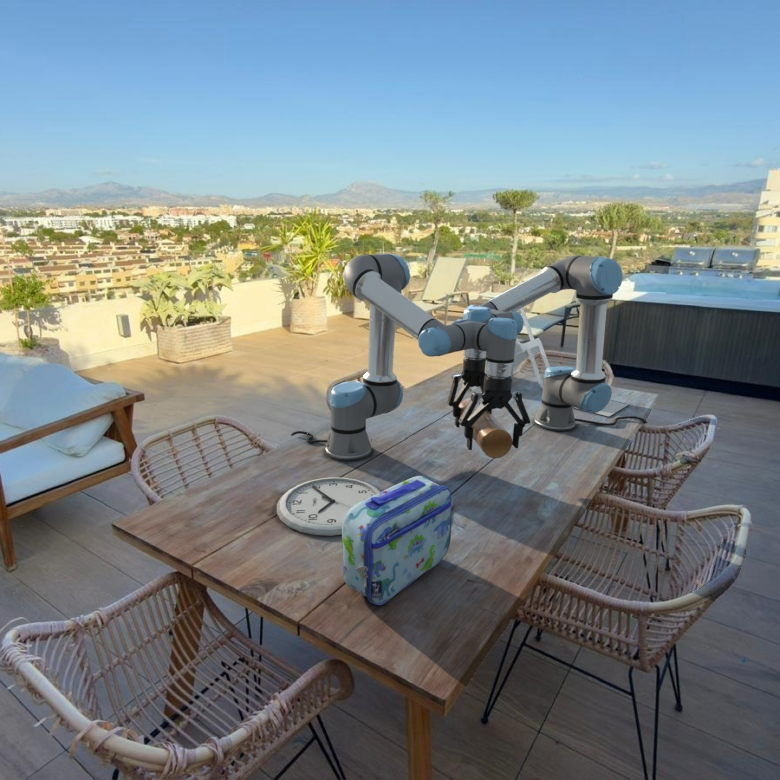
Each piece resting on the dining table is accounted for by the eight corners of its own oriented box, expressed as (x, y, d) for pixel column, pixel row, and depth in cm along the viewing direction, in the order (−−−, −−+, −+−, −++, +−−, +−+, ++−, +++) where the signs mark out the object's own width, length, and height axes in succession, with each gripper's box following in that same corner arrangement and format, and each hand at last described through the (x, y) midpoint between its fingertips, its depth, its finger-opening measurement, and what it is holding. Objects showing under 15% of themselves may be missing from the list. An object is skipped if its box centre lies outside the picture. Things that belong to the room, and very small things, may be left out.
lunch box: (371, 618, 102) (371, 524, 95) (336, 591, 109) (334, 502, 103) (455, 562, 119) (460, 479, 113) (420, 542, 126) (423, 463, 120)
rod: (455, 423, 172) (456, 398, 169) (481, 422, 173) (482, 397, 170) (481, 459, 146) (483, 430, 143) (510, 457, 147) (513, 428, 144)
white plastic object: (489, 418, 267) (470, 395, 242) (471, 346, 289) (451, 318, 264) (561, 394, 254) (547, 368, 230) (535, 321, 277) (521, 289, 252)
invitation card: (608, 416, 214) (573, 407, 224) (608, 416, 214) (573, 408, 224) (628, 404, 229) (594, 396, 238) (628, 405, 229) (594, 397, 238)
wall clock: (392, 527, 129) (268, 531, 127) (391, 533, 130) (269, 537, 127) (383, 473, 158) (282, 475, 155) (383, 478, 158) (282, 480, 156)
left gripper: (457, 380, 137) (453, 454, 143) (547, 378, 140) (539, 450, 147) (450, 372, 144) (446, 443, 150) (536, 370, 148) (528, 440, 154)
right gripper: (444, 361, 157) (441, 431, 164) (513, 359, 160) (507, 428, 167) (439, 355, 164) (436, 422, 171) (504, 353, 167) (499, 419, 174)
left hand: (492, 447), depth 149 cm, fingers open, 13 cm apart
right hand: (471, 425), depth 169 cm, fingers closed on rod, 9 cm apart
